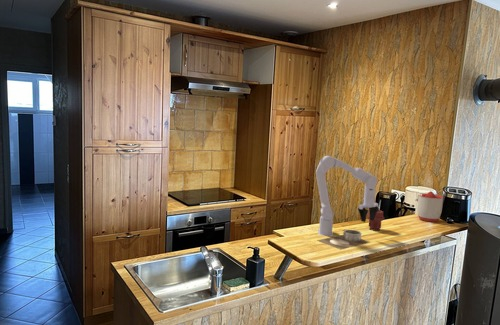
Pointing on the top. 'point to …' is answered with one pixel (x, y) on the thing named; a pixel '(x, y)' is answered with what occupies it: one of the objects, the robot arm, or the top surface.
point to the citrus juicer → (429, 207)
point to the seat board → (341, 242)
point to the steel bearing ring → (352, 235)
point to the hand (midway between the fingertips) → (367, 220)
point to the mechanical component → (376, 220)
